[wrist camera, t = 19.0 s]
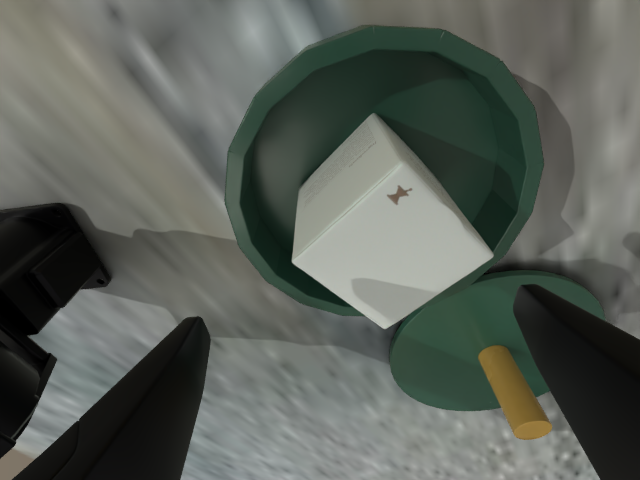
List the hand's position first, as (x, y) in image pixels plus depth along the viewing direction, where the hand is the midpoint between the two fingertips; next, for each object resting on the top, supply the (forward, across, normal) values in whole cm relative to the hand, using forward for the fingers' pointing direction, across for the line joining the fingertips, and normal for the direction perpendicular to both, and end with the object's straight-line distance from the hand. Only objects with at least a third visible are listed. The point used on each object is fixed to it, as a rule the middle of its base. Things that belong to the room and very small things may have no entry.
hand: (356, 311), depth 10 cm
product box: (+11, -2, +1) cm, 12 cm away
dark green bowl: (+12, -2, +1) cm, 12 cm away
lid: (+11, -11, +17) cm, 23 cm away
